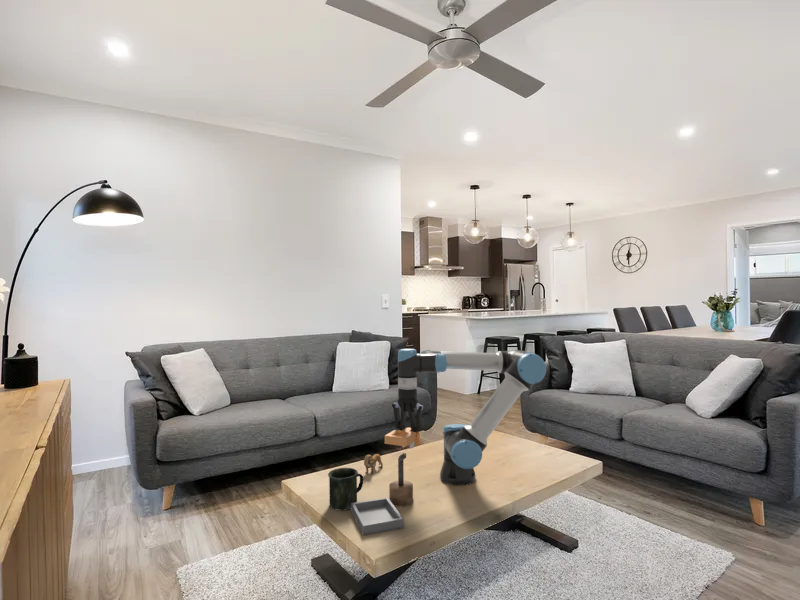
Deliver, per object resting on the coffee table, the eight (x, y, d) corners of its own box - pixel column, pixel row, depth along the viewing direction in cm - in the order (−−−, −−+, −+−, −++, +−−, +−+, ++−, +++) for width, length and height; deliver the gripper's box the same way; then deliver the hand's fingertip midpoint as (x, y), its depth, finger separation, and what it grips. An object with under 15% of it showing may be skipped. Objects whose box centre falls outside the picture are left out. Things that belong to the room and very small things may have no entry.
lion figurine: (372, 477, 192) (372, 456, 192) (361, 476, 193) (361, 455, 194) (384, 466, 206) (384, 446, 206) (374, 465, 207) (374, 445, 208)
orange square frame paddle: (400, 433, 179) (400, 426, 179) (420, 436, 175) (420, 428, 175) (384, 443, 166) (384, 435, 166) (406, 446, 162) (406, 438, 163)
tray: (387, 505, 164) (387, 497, 164) (403, 527, 147) (403, 518, 147) (351, 511, 160) (351, 503, 160) (363, 535, 143) (363, 525, 143)
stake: (395, 494, 174) (395, 449, 174) (416, 498, 170) (416, 452, 171) (385, 503, 166) (384, 456, 166) (406, 507, 162) (406, 460, 162)
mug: (322, 504, 166) (322, 472, 166) (354, 493, 175) (354, 463, 175) (338, 514, 157) (338, 480, 158) (371, 502, 167) (370, 470, 167)
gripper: (385, 388, 175) (386, 447, 175) (421, 390, 168) (422, 452, 168) (394, 385, 182) (394, 442, 181) (429, 387, 175) (430, 446, 175)
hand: (408, 446), depth 175 cm, fingers closed on orange square frame paddle, 3 cm apart
